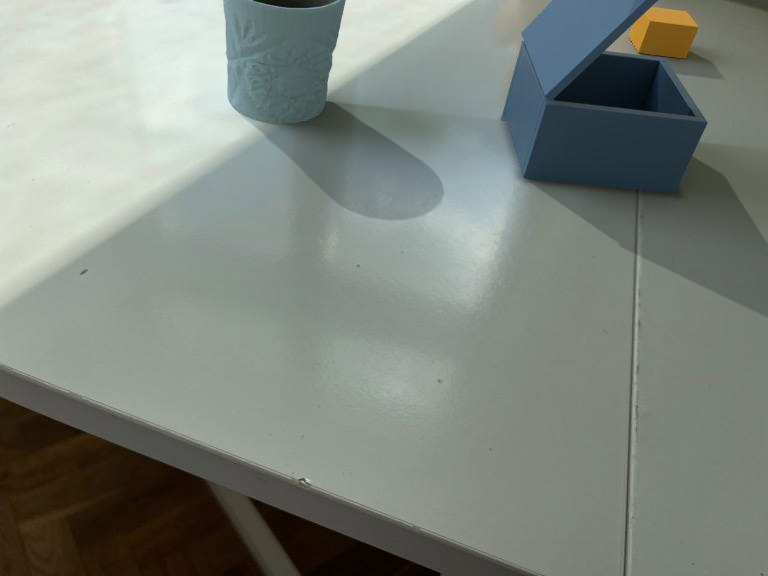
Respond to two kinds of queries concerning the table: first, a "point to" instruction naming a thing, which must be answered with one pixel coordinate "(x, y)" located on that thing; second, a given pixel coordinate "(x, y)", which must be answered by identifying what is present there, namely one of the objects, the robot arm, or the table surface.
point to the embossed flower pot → (280, 56)
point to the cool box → (605, 124)
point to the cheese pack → (664, 33)
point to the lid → (576, 37)
